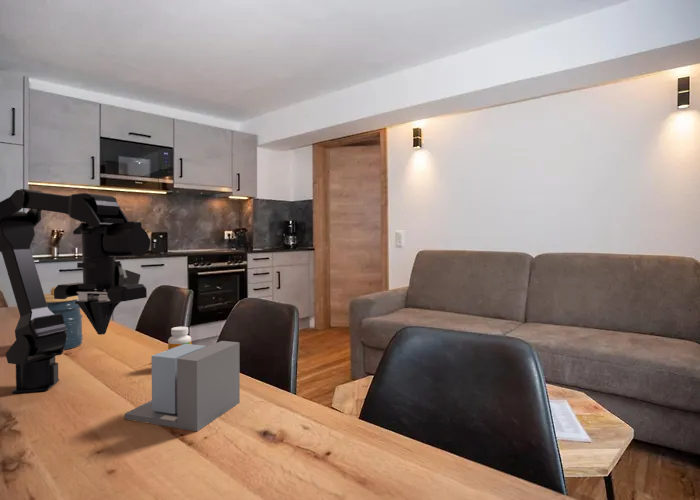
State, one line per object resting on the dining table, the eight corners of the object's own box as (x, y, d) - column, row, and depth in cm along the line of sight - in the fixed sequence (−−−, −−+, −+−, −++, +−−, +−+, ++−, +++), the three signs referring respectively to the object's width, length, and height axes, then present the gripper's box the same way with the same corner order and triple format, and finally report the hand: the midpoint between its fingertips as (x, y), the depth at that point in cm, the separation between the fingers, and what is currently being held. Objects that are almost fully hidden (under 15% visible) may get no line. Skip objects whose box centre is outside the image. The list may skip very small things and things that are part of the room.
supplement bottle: (183, 370, 103) (183, 331, 103) (163, 369, 104) (163, 329, 104) (195, 364, 109) (195, 326, 108) (176, 362, 110) (176, 325, 109)
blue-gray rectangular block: (152, 410, 77) (151, 355, 76) (185, 393, 85) (185, 343, 85) (174, 414, 75) (174, 358, 75) (206, 396, 84) (206, 345, 83)
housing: (124, 419, 76) (123, 352, 76) (174, 393, 88) (174, 336, 88) (197, 431, 71) (196, 360, 71) (239, 402, 84) (239, 342, 83)
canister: (83, 348, 123) (82, 287, 122) (27, 355, 116) (26, 290, 115) (81, 339, 134) (81, 283, 133) (30, 344, 126) (29, 285, 126)
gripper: (165, 254, 90) (168, 328, 90) (99, 255, 96) (102, 324, 96) (121, 257, 79) (124, 340, 79) (50, 257, 85) (53, 335, 86)
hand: (101, 334), depth 85 cm, fingers closed
